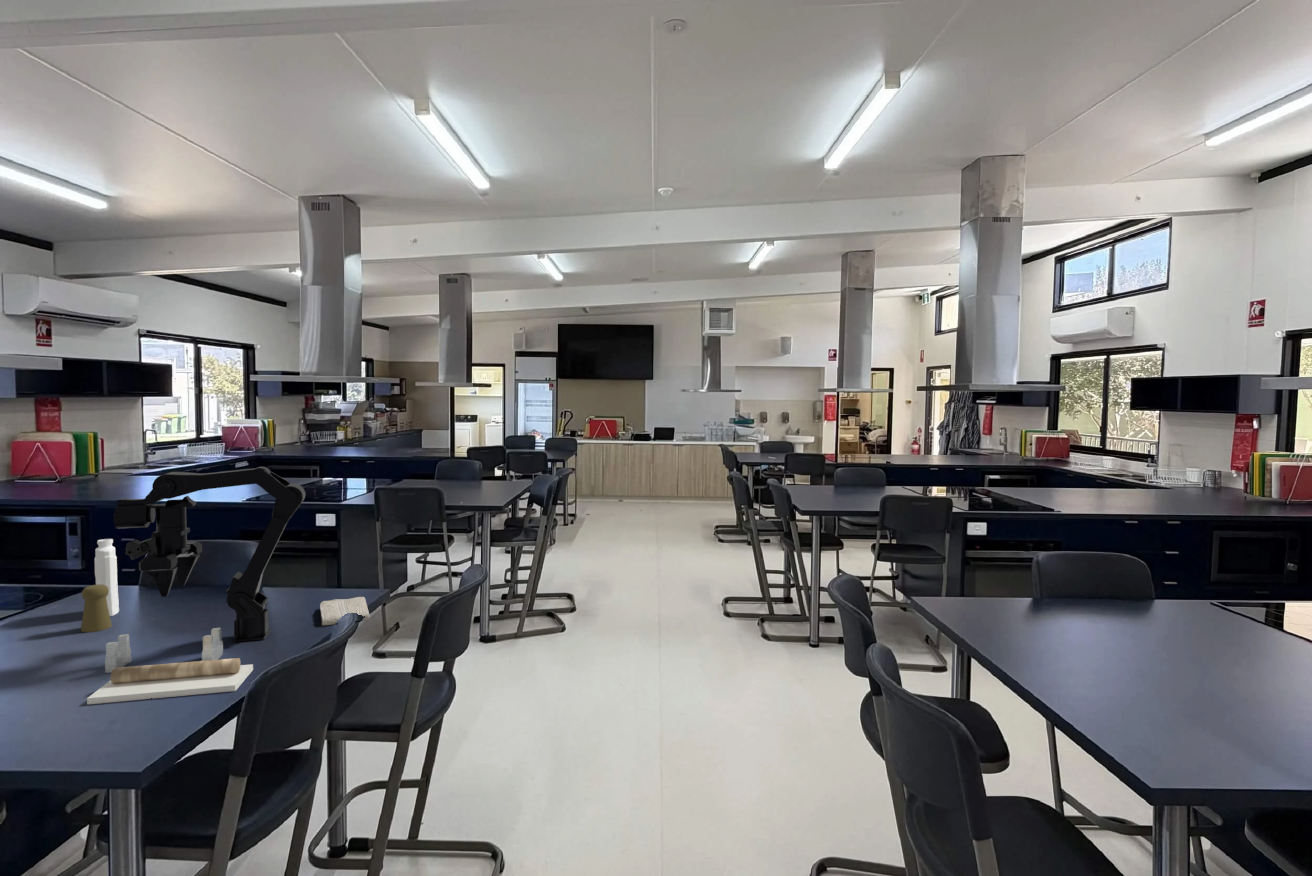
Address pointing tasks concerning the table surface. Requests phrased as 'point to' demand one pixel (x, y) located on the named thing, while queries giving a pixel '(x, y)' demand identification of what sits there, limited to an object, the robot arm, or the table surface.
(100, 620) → the cork
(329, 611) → the washcloth
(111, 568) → the squeeze bottle
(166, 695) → the cutting board
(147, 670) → the beech dowel
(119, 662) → the aluminium cradles
